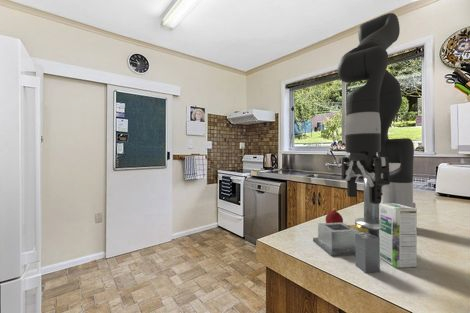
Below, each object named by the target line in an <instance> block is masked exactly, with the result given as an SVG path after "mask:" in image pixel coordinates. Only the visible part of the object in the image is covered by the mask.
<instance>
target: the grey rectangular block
mask: <svg viewBox="0 0 470 313" xmlns="http://www.w3.org/2000/svg"><path fill="white" fill-rule="evenodd" d="M355 247H356V255H355V266H356V268H358V269H359V270H361V271H362V272H363V273H365V274H375V273H381V271H380V270H381V267H380V266H381V259H380V238H378V237H376V236H374V235H372V234H370V233H357V234H355Z"/></svg>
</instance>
